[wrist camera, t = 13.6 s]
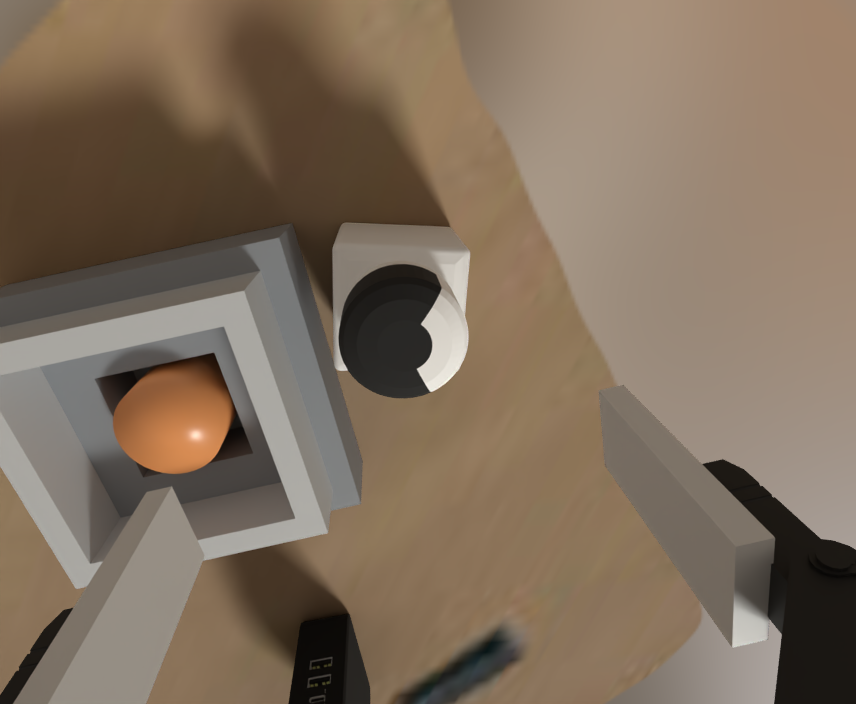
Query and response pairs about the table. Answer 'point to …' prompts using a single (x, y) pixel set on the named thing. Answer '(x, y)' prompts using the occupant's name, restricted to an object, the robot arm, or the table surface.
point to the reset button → (176, 415)
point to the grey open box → (161, 343)
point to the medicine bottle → (399, 306)
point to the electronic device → (329, 664)
